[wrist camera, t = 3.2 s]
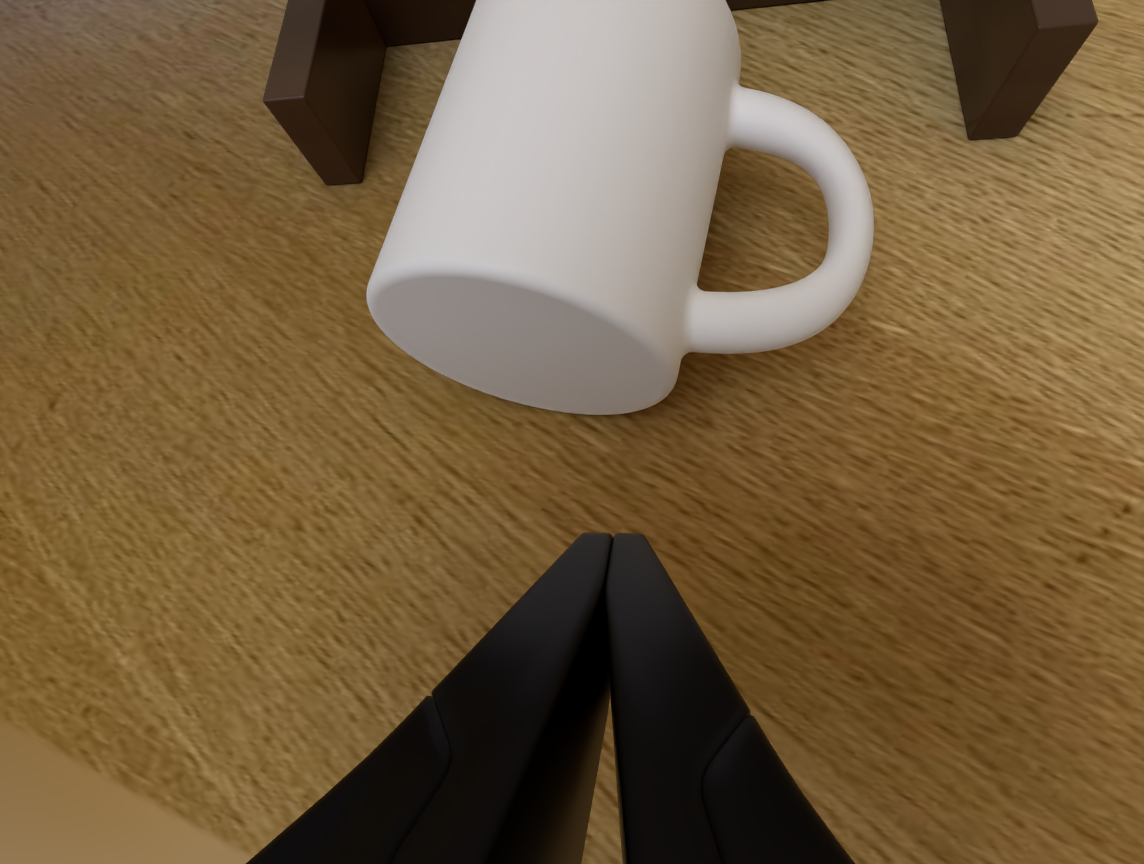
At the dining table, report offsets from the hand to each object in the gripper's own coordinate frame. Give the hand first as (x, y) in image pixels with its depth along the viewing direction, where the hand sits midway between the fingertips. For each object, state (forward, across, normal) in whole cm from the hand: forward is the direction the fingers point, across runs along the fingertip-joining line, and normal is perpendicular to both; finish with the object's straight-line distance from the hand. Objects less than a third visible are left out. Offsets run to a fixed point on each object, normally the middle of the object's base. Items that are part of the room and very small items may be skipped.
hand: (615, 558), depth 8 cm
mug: (+14, 0, 0) cm, 14 cm away
